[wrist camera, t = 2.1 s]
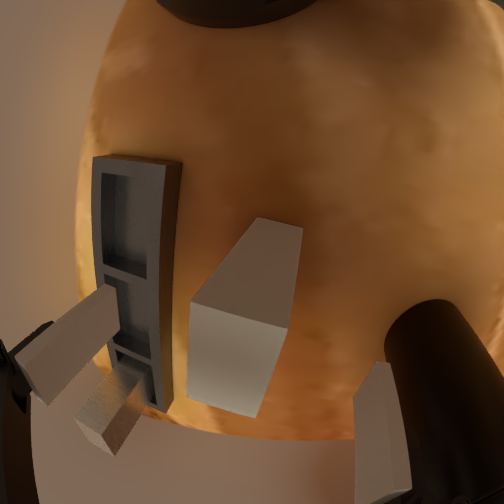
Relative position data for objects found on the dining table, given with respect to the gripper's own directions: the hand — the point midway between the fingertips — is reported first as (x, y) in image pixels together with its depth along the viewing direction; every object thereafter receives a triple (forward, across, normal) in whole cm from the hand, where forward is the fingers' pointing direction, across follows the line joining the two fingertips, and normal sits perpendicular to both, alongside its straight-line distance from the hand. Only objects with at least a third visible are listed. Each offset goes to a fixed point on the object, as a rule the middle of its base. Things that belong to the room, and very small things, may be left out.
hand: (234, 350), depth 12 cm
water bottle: (+10, +16, -4) cm, 20 cm away
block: (+10, 0, 0) cm, 10 cm away
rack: (+10, -12, -8) cm, 18 cm away
